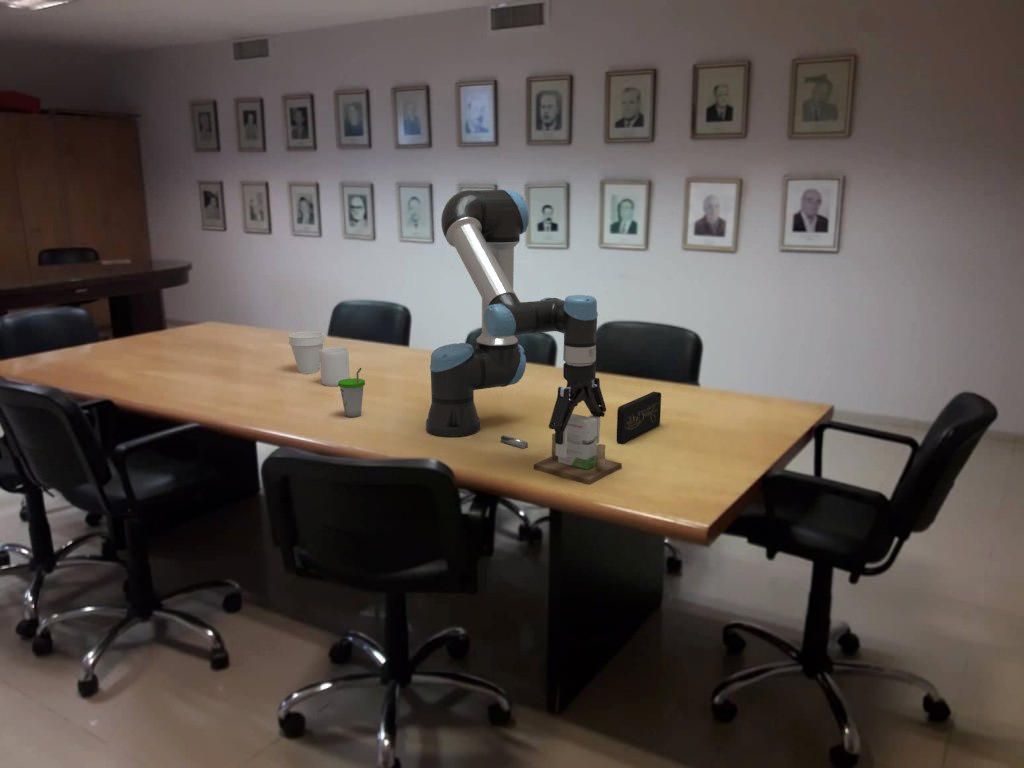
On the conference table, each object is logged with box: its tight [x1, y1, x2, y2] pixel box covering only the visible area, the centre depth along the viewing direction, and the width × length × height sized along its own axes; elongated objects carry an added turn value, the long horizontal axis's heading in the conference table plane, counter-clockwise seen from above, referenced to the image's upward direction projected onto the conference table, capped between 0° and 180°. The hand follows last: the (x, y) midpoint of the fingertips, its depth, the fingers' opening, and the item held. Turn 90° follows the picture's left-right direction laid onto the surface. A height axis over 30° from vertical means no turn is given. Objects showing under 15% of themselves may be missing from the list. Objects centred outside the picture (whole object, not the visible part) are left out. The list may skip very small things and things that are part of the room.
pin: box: [500, 434, 529, 450], centre depth 212 cm, size 8×2×2 cm
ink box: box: [558, 413, 598, 470], centre depth 193 cm, size 9×5×12 cm, turn 50°
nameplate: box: [616, 391, 662, 445], centre depth 220 cm, size 21×2×10 cm, turn 143°
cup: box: [337, 367, 366, 419], centre depth 237 cm, size 8×8×15 cm
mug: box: [319, 346, 351, 387], centre depth 275 cm, size 10×12×12 cm
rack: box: [533, 433, 623, 485], centre depth 194 cm, size 16×14×7 cm
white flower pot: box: [288, 330, 325, 375], centre depth 291 cm, size 12×12×14 cm
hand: (577, 449), depth 194 cm, fingers open, 13 cm apart
